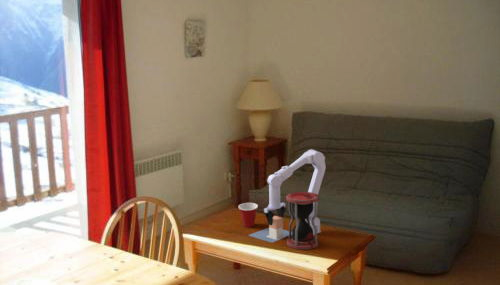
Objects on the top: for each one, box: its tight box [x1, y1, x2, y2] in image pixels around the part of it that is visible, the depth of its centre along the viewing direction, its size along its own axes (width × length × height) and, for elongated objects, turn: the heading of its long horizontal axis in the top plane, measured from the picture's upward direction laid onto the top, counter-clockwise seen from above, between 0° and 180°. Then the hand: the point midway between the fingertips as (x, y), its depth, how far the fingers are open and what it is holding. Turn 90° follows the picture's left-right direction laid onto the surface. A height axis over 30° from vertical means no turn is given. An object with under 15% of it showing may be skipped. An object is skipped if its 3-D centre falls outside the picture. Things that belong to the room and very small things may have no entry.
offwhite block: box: [268, 226, 284, 239], centre depth 291 cm, size 5×5×5 cm
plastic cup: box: [238, 202, 259, 228], centre depth 309 cm, size 11×11×12 cm
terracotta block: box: [268, 215, 284, 229], centre depth 290 cm, size 5×5×5 cm
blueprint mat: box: [247, 227, 292, 243], centre depth 295 cm, size 17×19×1 cm
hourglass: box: [285, 191, 320, 250], centre depth 279 cm, size 16×16×25 cm
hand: (275, 222), depth 291 cm, fingers open, 7 cm apart
